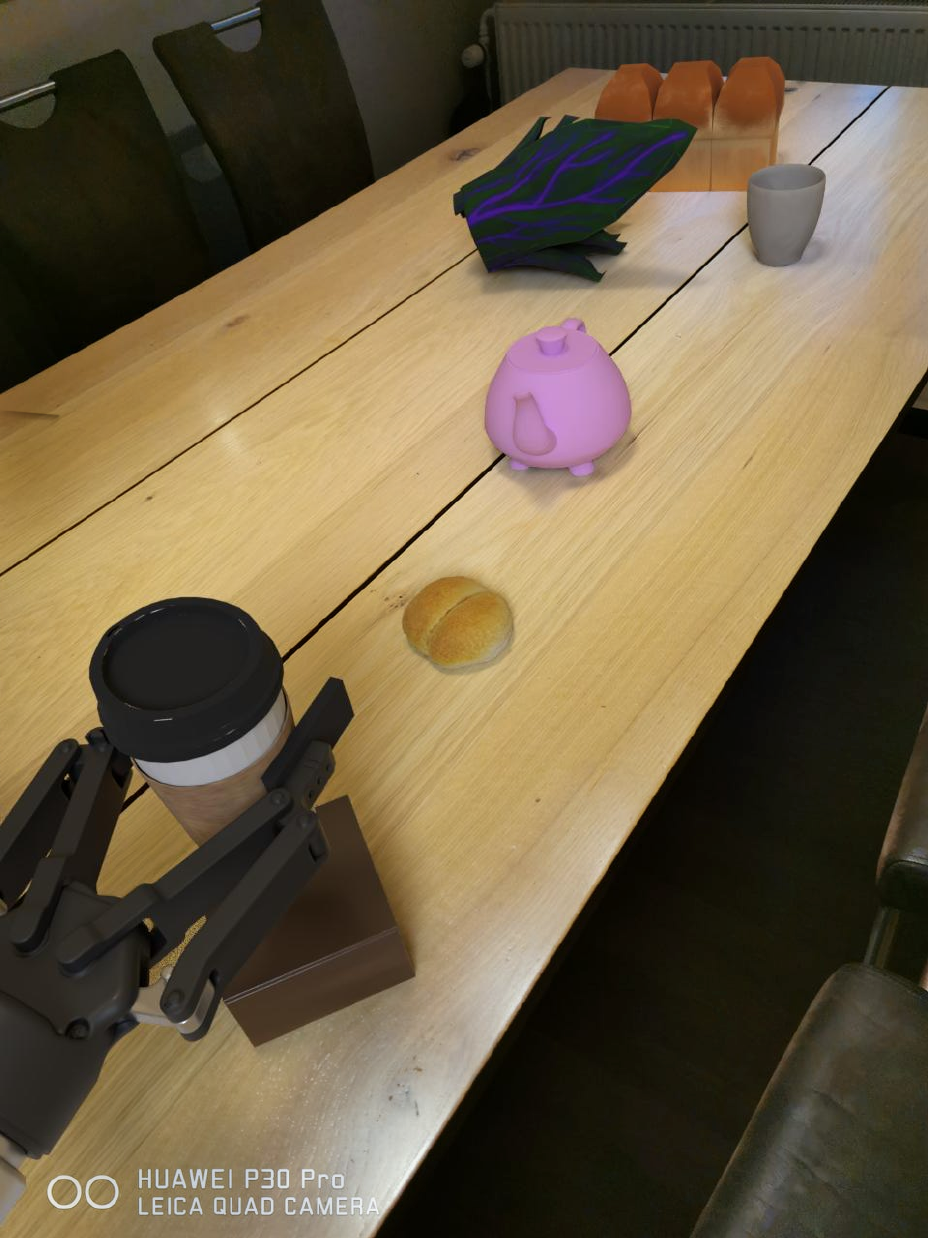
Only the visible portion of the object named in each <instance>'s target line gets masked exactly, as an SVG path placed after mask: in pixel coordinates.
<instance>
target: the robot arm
mask: <svg viewBox="0 0 928 1238" xmlns="http://www.w3.org/2000/svg"><path fill="white" fill-rule="evenodd" d="M354 717H355V712H354V709H353V705H352V703H351V700H350V697H349V693H348V690H347V688H346V684H345V681H344V679H342V678H339V677H334V676H329V677H328V678H327V680H326V681H325V683H324V685H322V687H321V689H320V690H319V692H318V693H317V695H316V696H315V697H314V699H313V700H312V702H311V703H310V705H309V706H308V708H307V709H306V711H305V712H304V714H302V716H301V718H300V720H298V723H297V724H295V728H294V730H293V731H292V733H291V734H290V736H289V737H288V739H287V740H286V743H285V744H284V746H283V748H282V749H281V751H280V752H279V754H278V755H277V756H276V757H275V759H274V760H273V761H272V762H271V763H270V765H269V766H268V768H267V769H266V771H265V772H264V774H263V775H262V776H261V780H262V782H263V784H264V787H265V789H266V791H267V793H268V794H266V795H265V796H264V797H263V798H261V799H260V800H259V801H257V802H256V803H255V804H254V805H252V806H251V807H250V808H249V809H247V810H246V811H245V812H244V813H242V814H241V815H240V816H238V817H237V818H236V819H235V820H233V821H232V822H231V823H230V824H228V825H227V826H226V827H224V828H223V829H222V830H221V831H219V832H218V833H217V834H216V835H214V836H213V837H212V838H210V839H209V840H208V841H207V842H205V843H204V844H203V845H202V846H200V847H199V846H198V848H196V849H195V850H194V851H192V853H190V854H189V855H187V856H186V857H185V858H183V859H182V860H181V861H179V862H178V863H177V864H176V865H175V866H173V867H172V868H171V869H170V870H168V871H167V872H166V873H165V874H163V875H162V876H161V877H159V878H158V879H157V880H156V881H154V882H152V883H149V882H148V883H147V882H144V883H140V884H139V885H137V886H135V887H134V888H133V889H132V890H131V891H130V890H129V892H127V893H126V894H125V895H124V896H123V897H119V896H117V895H109V894H107V895H106V894H98V888H97V884H98V880H99V877H100V874H101V872H102V868H103V865H104V863H105V859H106V856H107V853H108V851H109V847H110V844H111V841H112V839H113V835H114V833H115V830H116V826H117V823H118V821H119V818H120V816H121V815H120V814H121V812H122V810H123V806H124V803H125V800H126V797H127V794H128V791H129V788H130V785H131V782H132V779H133V776H134V771H133V767H134V764H133V763H132V761H131V758H130V756H128V755H126V754H124V753H122V752H120V751H119V750H118V749H117V748H116V747H115V746H114V745H113V744H112V743H111V742H110V740H109V739H108V737H107V735H106V734H105V732H104V727H103V726H96V727H94V728H92V729H90V730H89V731H88V732H86V733H85V736H84V739H85V740H86V743H81V744H80V743H79V741H78V740H77V739H75V738H73V737H69V738H66V739H63V740H61V741H59V742H58V743H57V744H56V745H55V746H54V748H53V749H52V751H51V752H50V753H49V755H48V757H46V759H45V760H44V762H43V764H42V765H41V766H40V768H38V769H39V770H37V772H36V774H35V775H34V776H33V778H32V780H30V782H29V783H28V785H27V787H26V788H25V789H24V791H23V792H22V794H21V795H20V796H19V798H18V799H17V801H16V802H15V803H14V805H12V806H13V807H11V809H10V810H9V812H8V813H7V814H6V816H5V818H4V819H3V821H2V822H1V823H0V1228H1V1227H2V1226H3V1225H4V1223H5V1221H6V1220H7V1218H8V1217H9V1215H10V1214H11V1212H12V1210H14V1208H15V1206H16V1204H17V1202H18V1201H19V1199H20V1198H21V1197H22V1195H23V1193H24V1192H25V1191H26V1189H27V1176H25V1174H24V1173H23V1172H22V1171H21V1170H20V1169H21V1167H22V1166H23V1164H24V1163H25V1161H26V1160H27V1158H29V1159H31V1160H34V1161H35V1160H36V1161H38V1160H41V1158H42V1157H43V1156H44V1155H46V1156H50V1155H51V1153H52V1152H53V1150H54V1149H55V1147H56V1145H57V1144H58V1143H59V1141H60V1140H61V1138H62V1136H63V1135H64V1133H65V1132H66V1130H67V1128H68V1127H69V1126H70V1124H71V1123H72V1121H73V1120H74V1118H75V1116H76V1115H77V1113H78V1112H79V1111H80V1109H81V1107H82V1106H83V1104H84V1102H85V1101H86V1100H87V1098H88V1096H89V1095H90V1093H91V1092H92V1090H93V1089H94V1087H95V1086H96V1084H97V1082H98V1081H99V1078H100V1075H101V1071H102V1069H103V1065H104V1063H105V1061H106V1058H107V1056H108V1054H109V1052H110V1051H111V1049H112V1048H113V1047H114V1046H116V1044H117V1043H118V1042H119V1041H120V1040H121V1039H123V1038H124V1037H125V1036H127V1035H128V1034H130V1033H131V1032H133V1031H134V1030H135V1029H136V1028H137V1027H138V1026H139V1025H140V1024H141V1023H142V1024H147V1025H154V1026H161V1027H165V1028H172V1029H175V1030H176V1031H177V1032H178V1033H179V1034H180V1037H182V1038H183V1040H185V1041H187V1042H189V1043H192V1042H193V1043H194V1042H197V1041H200V1040H202V1039H203V1038H205V1036H207V1034H208V1032H209V1030H210V1029H211V1027H212V1024H213V1021H214V1019H215V1016H216V1014H217V1011H218V1009H219V1006H220V1004H221V1001H222V996H223V994H224V991H225V989H226V987H227V986H228V985H229V983H230V982H231V981H232V979H233V978H234V977H235V976H236V974H237V973H238V972H239V970H240V969H241V968H242V967H243V965H244V964H245V963H246V962H247V960H248V959H249V958H250V956H251V955H252V954H253V953H254V951H255V950H256V949H257V947H258V946H259V945H260V944H261V942H262V941H263V940H264V938H265V937H266V936H267V935H268V933H269V932H270V931H271V930H272V928H273V927H274V926H275V924H276V923H277V922H278V921H279V919H280V918H281V917H282V915H283V914H284V913H285V912H286V910H287V909H288V908H289V907H290V905H291V904H292V903H293V901H294V900H295V899H296V898H297V896H298V895H299V894H300V892H301V891H302V890H303V889H304V887H305V886H306V885H307V884H308V882H309V881H310V880H311V878H312V877H313V876H314V875H315V873H316V872H317V871H318V869H319V868H320V867H321V866H322V864H323V863H324V862H325V860H326V859H327V858H328V856H329V855H330V852H331V847H330V845H329V843H328V840H327V837H326V835H325V832H324V830H323V828H322V825H321V823H320V821H319V818H318V816H317V813H315V812H314V811H313V810H311V808H312V807H313V805H314V806H315V804H316V802H317V801H318V799H319V797H320V795H321V794H322V792H323V791H324V789H325V787H326V786H327V784H328V783H329V781H330V779H331V778H332V776H333V775H334V773H335V771H336V766H337V760H336V758H335V755H334V752H333V750H334V749H335V747H336V745H337V744H338V742H339V741H340V739H341V738H342V736H343V735H344V733H345V731H346V730H347V728H348V727H349V725H350V724H351V722H352V721H353V719H354ZM67 775H68V777H67ZM65 778H66V779H65ZM27 887H28V888H27ZM26 889H27V891H26V893H25V895H24V898H23V900H22V903H21V905H18V906H16V907H15V908H13V907H14V905H15V904H16V903H17V902H18V900H20V898H21V897H22V895H23V893H24V892H25V890H26ZM221 901H222V903H221V904H220V905H219V906H218V907H217V909H216V910H215V911H214V912H213V913H212V915H211V916H210V917H209V918H208V919H207V921H206V920H205V921H204V923H203V924H202V925H201V927H200V928H199V929H198V930H197V931H196V932H195V933H194V935H193V936H192V937H191V939H190V940H189V941H188V943H187V944H186V945H185V946H184V948H183V950H182V951H181V953H180V955H179V956H178V958H177V960H176V963H175V964H174V965H173V964H166V965H164V966H163V967H162V968H161V969H160V972H159V976H160V977H159V979H158V980H157V981H156V982H154V983H153V984H151V985H150V979H151V978H150V977H151V976H150V975H151V973H150V972H151V969H153V968H154V967H155V966H156V965H158V964H159V963H160V962H161V961H162V960H164V959H165V958H166V957H167V956H168V955H170V954H171V953H172V952H174V950H175V949H177V948H178V947H180V945H181V944H182V943H183V942H184V940H185V939H186V934H187V932H188V930H189V929H191V927H192V926H194V925H195V924H196V923H197V922H198V921H200V920H201V919H202V918H204V917H205V915H206V914H207V913H208V912H209V911H210V910H212V909H213V908H214V907H215V906H216V905H218V904H219V903H220V902H221ZM146 919H149V920H150V921H151V922H152V925H153V926H152V927H151V929H149V928H148V926H147V924H146V922H145V921H144V920H146Z"/></svg>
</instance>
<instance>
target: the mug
mask: <svg viewBox="0 0 928 1238" xmlns="http://www.w3.org/2000/svg"><path fill="white" fill-rule="evenodd" d="M826 183H827V176H826V174H825V171H824V170H822V169H821V168H819V167H817V166H814V165H810V164H804V163H781V164H775V165H774V166H769V167H765V168H762V169H760V170H758V171H756V172H754V173H753V174H752V175H751V176H750V178H749V180H748V186H747V191H746V217H747V226H748V231H749V236H750V239H751V243H752V245H753V248H754V250H755V253H756V259H757V261H758V262H760V263H761V264H763V265H766V266H770V267H783V266H791V265H794V264H796V263H797V262H799V261H800V260H801V259H802V257H803V254H804V252H805V250H806V248H807V246H808V245H809V243H810V241H811V239H812V237H813V235H814V233H815V230H816V229H817V225H818V222H819V219H820V215H821V211H822V208H823V203H824V198H825V191H826Z"/></svg>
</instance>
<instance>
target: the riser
mask: <svg viewBox="0 0 928 1238" xmlns="http://www.w3.org/2000/svg"><path fill="white" fill-rule="evenodd" d="M315 810H316V813H317V816H318V818H319V821H320V823H321V825H322V828H323V830H324V832H325V835H326V837H327V840H328V843H329V845H330V847H331V852H330V855H329V856H328V858H327V859H326V860H325V862H324V863H323V864H322V866H321V867H320V868H319V869H318V871H317V872H316V873H315V875H314V876H313V877H312V878H311V880H310V881H309V882H308V884H307V885H306V886H305V887H304V889H303V890H302V891H301V892H300V894H299V895H298V896H297V898H296V899H295V900H294V901H293V903H292V904H291V905H290V907H289V908H288V909H287V910H286V912H285V913H284V914H283V915H282V917H281V918H280V919H279V921H278V922H277V923H276V924H275V926H274V927H273V928H272V930H271V931H270V932H269V933H268V935H267V936H266V937H265V938H264V940H263V941H262V942H261V944H260V945H259V946H258V947H257V949H256V950H255V951H254V953H253V954H252V955H251V956H250V958H249V959H248V960H247V962H246V963H245V964H244V965H243V967H242V968H241V969H240V970H239V972H238V973H237V974H236V976H235V977H234V978H233V979H232V981H231V982H230V983H229V985H228V986H227V987H226V989H225V991H224V994H223V996H222V999H221V1001H222V1002H223V1004H224V1005H225V1007H226V1008H227V1009H228V1011H229V1013H230V1014H231V1015H232V1017H233V1018H234V1020H235V1022H236V1023H237V1024H238V1025H239V1027H240V1029H241V1030H242V1031H243V1033H244V1035H245V1036H246V1038H247V1040H249V1041H250V1043H251V1045H252V1046H253V1047H254V1048H257V1047H259V1046H262V1045H264V1044H266V1043H269V1042H271V1041H273V1040H276V1039H278V1038H280V1037H282V1036H284V1035H286V1034H288V1033H291V1032H293V1031H296V1030H297V1029H301V1028H302V1027H305V1026H306V1025H309V1024H311V1023H314V1022H316V1021H318V1020H320V1019H322V1018H325V1017H327V1016H330V1015H332V1014H333V1013H336V1012H339V1011H341V1010H343V1009H345V1008H348V1007H350V1006H352V1005H355V1004H356V1003H359V1002H361V1001H363V1000H365V999H367V998H370V997H372V996H374V995H377V994H379V993H382V992H383V991H386V990H389V989H390V988H393V987H395V986H397V985H400V984H402V983H404V982H406V981H408V980H410V979H413V978H415V977H416V973H415V970H414V968H413V963H412V962H411V959H410V956H409V953H408V950H407V947H406V946H405V945H406V944H405V943H404V940H403V936H402V934H401V931H400V929H399V926H398V924H397V921H396V918H395V915H394V913H393V910H392V908H391V907H392V906H391V905H390V902H389V900H388V897H387V894H386V892H385V888H384V886H383V884H382V881H381V878H380V876H379V873H378V870H377V868H376V865H375V863H374V860H373V858H372V854H371V852H370V849H369V847H368V844H367V841H366V839H365V835H364V833H363V830H362V828H361V826H360V823H359V820H358V818H357V815H356V813H355V810H354V807H353V804H352V802H351V799H350V797H349V794H348V793H346V794H344V795H341V796H339V797H336V798H334V799H331V800H329V801H325V802H324V803H321V804H318V805H315ZM221 903H222V901H221V902H220V903H219V904H218V905H216V906H215V907H214V908H213V909H212V910H210V911H209V912H208V913H207V914H206V915H204V918H205V922H206V921H207V919H208V918H209V917H210V916H211V915H212V913H213V912H214V911H215V910H216V909H217V907H218V906H219V905H220V904H221Z"/></svg>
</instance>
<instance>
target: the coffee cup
mask: <svg viewBox="0 0 928 1238" xmlns="http://www.w3.org/2000/svg"><path fill="white" fill-rule="evenodd" d="M284 678H285V666H284V661H283V658H282V656H281V654H280V651H279V649H278V648H277V646H276V643H275V641H274V640H273V639H272V638H271V637H270V636H269V634H267V632H266V631H264V630H262V628H261V626H260V625H259V623H258V622H257V621H256V620H255V619H254V618H253V617H252V615H251V614H250V613H248V612H247V611H245V610H244V609H243V608H241V607H239V606H236V605H234V604H232V603H229V602H227V601H224V600H219V599H216V598H210V597H201V596H178V597H170V598H165V599H162V600H161V599H160V600H157V601H153V602H151V603H148V604H147V605H144V606H142V607H141V608H138V609H136V610H135V611H133V612H130V613H129V614H128V615H126V616H125V617H123V618H122V619H120V620H118V621H116V622H115V623H114V624H112V625H111V626H110V627H109V628H107V630H106V631H105V632H104V633H103V635H102V637H101V638H100V640H99V641H98V643H97V645H96V647H95V649H94V650H93V653H92V655H91V657H90V661H89V665H88V680H89V683H90V686H91V689H92V692H93V694H94V696H95V699H96V702H97V703H96V710H97V711H96V712H97V715H98V719H99V722H100V724H101V727H104V732H105V734H106V735H107V737H108V739H109V740H110V742H111V743H112V744H113V745H114V746H115V747H116V748H117V749H118V750H119V751H120V752H122V753H124V754H126V755H128V756H130V758H131V761H132V763H133V764H134V765H133V767H134V768H135V770H136V771H137V773H138V774H139V775H140V776H141V777H142V778H143V780H144V781H145V782H146V783H147V785H148V786H149V787H150V789H151V790H152V791H153V792H154V794H155V795H156V796H157V797H158V799H159V800H160V801H161V802H162V804H163V805H164V806H165V807H166V809H167V810H168V811H169V812H170V814H171V815H172V816H173V817H174V819H175V820H176V822H177V823H179V825H180V826H181V828H182V829H183V830H184V831H185V832H186V834H187V835H188V836H189V837H190V839H191V840H192V841H193V843H195V844H196V845H197V846H198V848H199V847H200V846H202V845H203V844H204V843H205V842H207V841H208V840H209V839H210V838H212V837H213V836H214V835H216V834H217V833H218V832H219V831H221V830H222V829H223V828H224V827H226V826H227V825H228V824H230V823H231V822H232V821H233V820H235V819H236V818H237V817H238V816H240V815H241V814H242V813H244V812H245V811H246V810H247V809H249V808H250V807H251V806H252V805H254V804H255V803H256V802H257V801H259V800H260V799H261V798H263V797H264V796H265V795H266V794H268V793H267V791H266V789H265V787H264V784H263V782H262V780H261V776H262V775H263V774H264V772H265V771H266V769H267V768H268V766H269V765H270V763H271V762H272V761H273V760H274V759H275V757H276V756H277V755H278V754H279V752H280V751H281V749H282V748H283V746H284V744H285V743H286V740H287V739H288V737H289V736H290V734H291V733H292V731H293V730H294V728H295V727H296V723H295V720H294V715H293V710H292V706H291V701H290V698H289V694H288V692H287V690H286V688H285V686H284ZM315 807H316V805H315V804H314V805H313V807H312V808H311V810H313V811H314V812H315V813H316V810H315Z"/></svg>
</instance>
